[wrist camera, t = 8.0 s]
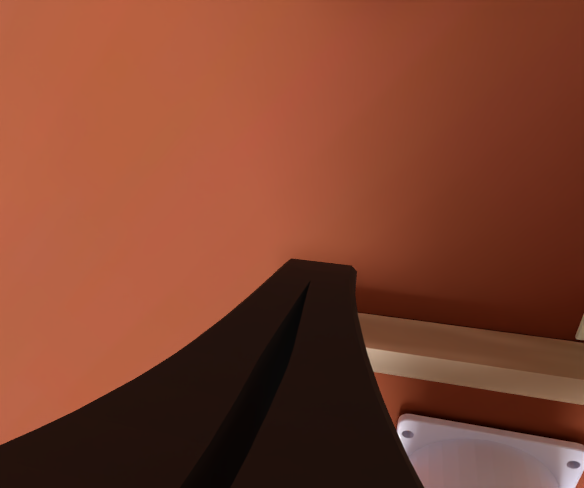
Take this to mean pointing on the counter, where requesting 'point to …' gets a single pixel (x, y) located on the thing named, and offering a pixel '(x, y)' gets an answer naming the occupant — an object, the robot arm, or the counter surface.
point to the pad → (580, 330)
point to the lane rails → (476, 357)
